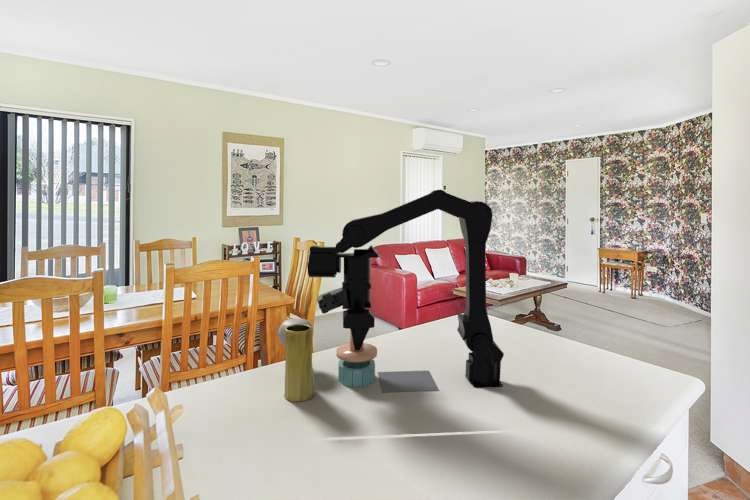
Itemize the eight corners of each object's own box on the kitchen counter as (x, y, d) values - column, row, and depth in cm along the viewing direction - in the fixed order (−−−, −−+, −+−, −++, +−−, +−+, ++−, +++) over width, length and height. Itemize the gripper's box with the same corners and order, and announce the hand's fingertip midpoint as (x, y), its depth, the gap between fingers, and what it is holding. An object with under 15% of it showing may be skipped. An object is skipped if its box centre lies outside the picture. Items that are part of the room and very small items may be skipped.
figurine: (288, 361, 100) (287, 314, 99) (317, 363, 99) (316, 316, 97) (274, 374, 92) (272, 323, 91) (305, 377, 91) (304, 326, 89)
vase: (308, 403, 79) (307, 333, 77) (279, 400, 80) (277, 331, 79) (318, 389, 85) (317, 324, 83) (291, 386, 86) (290, 322, 85)
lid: (375, 346, 94) (375, 323, 93) (379, 361, 85) (379, 336, 84) (336, 347, 93) (336, 324, 92) (336, 362, 84) (335, 337, 83)
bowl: (373, 372, 94) (373, 355, 93) (376, 387, 86) (376, 369, 86) (338, 373, 93) (338, 356, 93) (338, 389, 85) (338, 371, 85)
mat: (428, 372, 94) (428, 370, 94) (439, 392, 84) (439, 390, 84) (377, 373, 93) (377, 372, 93) (382, 394, 83) (382, 392, 83)
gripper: (321, 270, 95) (322, 334, 97) (316, 287, 77) (317, 365, 79) (368, 270, 96) (368, 333, 98) (374, 286, 78) (374, 363, 80)
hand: (357, 347), depth 89 cm, fingers closed on lid, 3 cm apart
